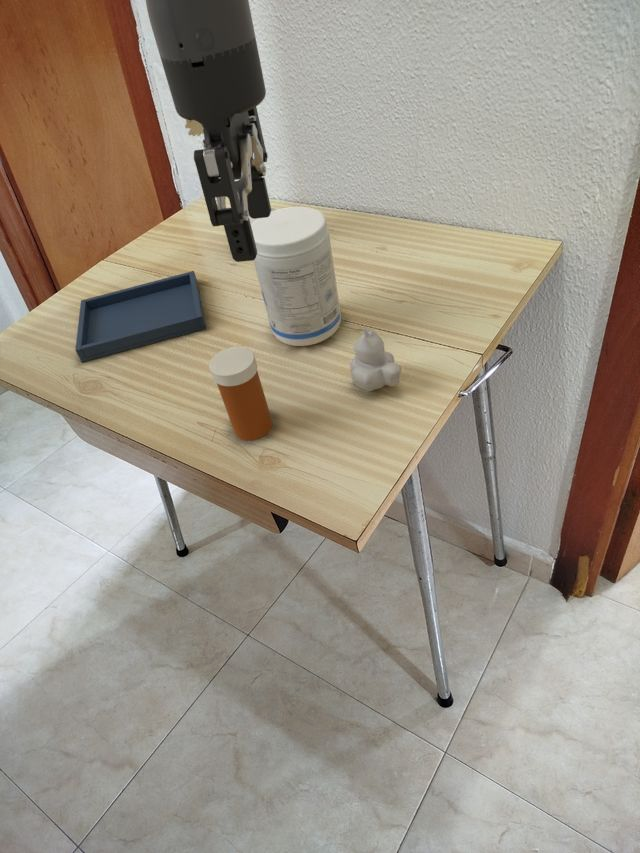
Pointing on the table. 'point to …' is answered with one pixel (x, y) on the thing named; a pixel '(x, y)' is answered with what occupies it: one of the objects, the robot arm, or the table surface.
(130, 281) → the table surface
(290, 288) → the supplement tub
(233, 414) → the pill bottle
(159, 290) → the tray
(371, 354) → the grey figurine
